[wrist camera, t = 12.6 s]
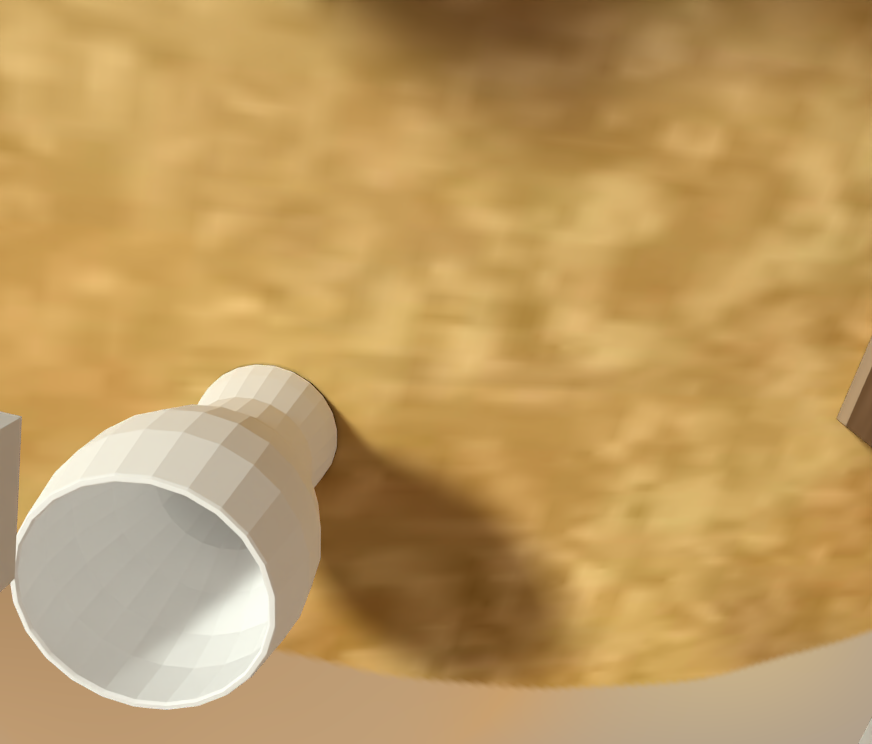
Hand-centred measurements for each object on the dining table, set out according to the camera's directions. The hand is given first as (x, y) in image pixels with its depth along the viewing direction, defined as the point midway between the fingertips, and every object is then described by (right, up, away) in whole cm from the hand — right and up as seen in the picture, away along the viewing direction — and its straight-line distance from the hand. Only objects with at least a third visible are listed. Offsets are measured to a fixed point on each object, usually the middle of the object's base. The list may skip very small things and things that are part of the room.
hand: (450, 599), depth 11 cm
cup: (-9, 0, +29) cm, 30 cm away
